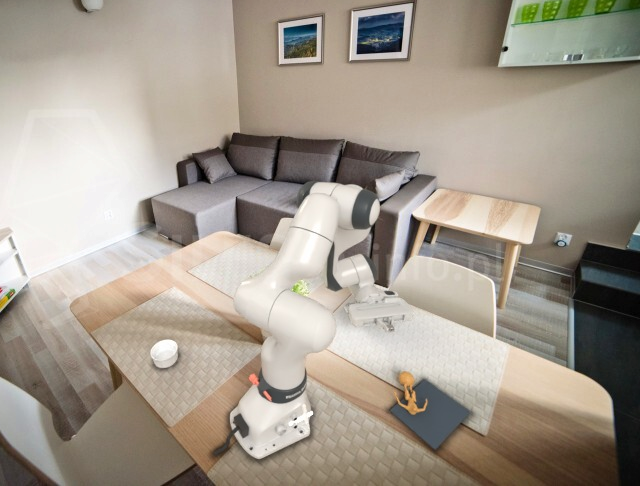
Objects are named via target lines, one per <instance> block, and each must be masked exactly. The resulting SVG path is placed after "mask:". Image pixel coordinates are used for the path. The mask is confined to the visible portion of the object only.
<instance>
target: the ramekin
mask: <svg viewBox="0 0 640 486" xmlns="http://www.w3.org/2000/svg"><path fill="white" fill-rule="evenodd" d="M178 348H179V347H178V343H177V342H176V341H175V340H172V339H162V340H160V341H158V342H156V343H155V344H154V345H152V347H151V349H150V353H149V354H150V357H151V359H152V361H153V363H154V365H155V367H157V368H159V369H166V368H170V367H172V366H173V365H174V364H175V363H176V362H177V361H178V357H179V351H178Z"/></svg>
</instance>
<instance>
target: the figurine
mask: <svg viewBox="0 0 640 486" xmlns="http://www.w3.org/2000/svg"><path fill="white" fill-rule="evenodd" d="M398 381H399V383H400V384H401V385H402V386H403V387H404V397H405V399H406V400H408V406H406V405H403V404H401V403H400V401H401V400H400V398H399V397H398V396H397V392H396V390H395V391H394V392H393V395H394V397H395V399H396V401H397V403H399V405H401V406H402V407H404V408H405V409H407V410H408V411H409V413H410V414H412V415H415V414H416V413H417V412H420V411H425V408H426V406H427V399H426V403H425V405H424V408H423V409H418V408H417V405H416V404H415V403H414V402H416V395H415V391H412V390H413V385H414V384H415V377H414V375H413V374H412V373H410V372H409V371H402V372H400V373H399V374H398ZM407 388H409V390H408V389H407ZM409 391H410V392H411V393H412V394H411V397H412V398H411V397H410V394H409V393H410V392H409Z"/></svg>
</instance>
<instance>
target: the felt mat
mask: <svg viewBox="0 0 640 486" xmlns="http://www.w3.org/2000/svg"><path fill="white" fill-rule="evenodd" d="M412 391H415V395H416V402H414V403H415V404H416V405H417V408H418V409H423V408H424V405H425V403H426V399H427V406H426V408H425V411H420V412H417V413H416V414H415V415H412V414H410V413H409V411H408V410H407V409H405V408H404V407H402V406H401V405H399V403H398V402H397V403H396V404H395V405H394V406H392V408H390V410H389V412H390V413H391V414H392V415H394V417H396V418H397V419H398V420H399V421H400V422H402V424H404V425H405V426H406V427H407V428H408V429H410V430H411V431H412V432H413V433H414V434H415V435H417V436H418V437H419V438H420V439H421V440H422V441H423V442H425V443H426V444H427V445H428V446H429V447H430V448H432V449H433V450H434V451H436V450H437V449H438V448H439V447H440V446H441V445H442V443H443V442H444V441H446V439H447V438H448V437H449V436H450V435H451V434H452V433H453V432H454V431H455V430H456V428H457V427H458V426H459V425H460V424H461V423H462V422H463V421H464V420H465V419H466V418H467V416H469V414H470V413H471V411H470V410H468V409H467V408H465V406H463V405H461V404H460V403H459V402H457V401H456V400H455V399H453V398H452V397H450V396H449V395H447V394H446V393H445V392H443V391H442V390H440V389H439V388H438V387H436V386H435V385H434V384H432V383H431V382H429V381H428V380H426V379H423V380H422V381H421V382H420V383H418V385H416V387H415V388H412ZM409 394H410V397H411V394H412V393H411V391H410V392H409ZM411 398H412V397H411ZM399 401H400V403H401V404H403V405H406V406H408V400H406V399H405V396H404V397H403V398H402V399H401V400H399Z"/></svg>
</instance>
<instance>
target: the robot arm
mask: <svg viewBox="0 0 640 486" xmlns="http://www.w3.org/2000/svg"><path fill="white" fill-rule="evenodd" d="M380 203H381V200H380V198H379V197H378V195H377V194H376V193H375V192H373V191H372V190H369V189H366V188H363V187H362V186H360V185H357V184H354V183H350V184H342V183H338V182H329V181H327V182H326V181H320V180H310V181H307V182H305V183H304V184H303V185H301V187H300V188H299V190H298V192H297V196H296V207H297V210H296V212H295V214H294V216H293V218H292V220H291V223H290V224H289V226H288V227H289V228H288V229H287V232H286V235H285V236H284V240H283V241H282V244H281V245H280V249H279V250H278V252H277V254H276V256H275V257H274V259H273V260H272V261H271V263H270V264H269V265H268V266H267V267H266V268H265V269H264V270H262V271H261V272H260V273H258V274H256V275H254V276H251V277H248V278H246V279H244V280H242V282H241V283H239V285H238V286H237V287H236V289H235V290H234V294H233V300H232V301H233V308H234V311H235V312H236V313H237V314H238V315H239V316H240V317H241V318H242V319H244V320H245V321H246V322H248V323H249V324H250V325H253V326H255V327H256V328H258V329H260V330H263V331H264V332H266V333H269V334H270V335H269V336H268V337H266V339H265V340H264V342H263V343H262V345H261V348H260V363H261V364H260V365H261V366H260V370H259V373H258V375H256V373H252V374H251V373H250V375H249V377H248V380H249V381H250V382H251V383H252V385H251V386H250V388H249V389H248V390H247V391H246V392H245V394H244V395H242V397H241V398H240V399H239V402H238V405H237V406H236V407H235V408H234V409H232V411H231V412H230V414H229V424H230V429H231V431H230V432H229V433H228V435H227V437H226V439H225V443H224V444H223V445H222V446H221V447H219V448H217V449H216V450H214V451H213V452H212V453H213V455H214V456H217V455H219V454H221V453H222V452H225V450H226V449H228V447H229V446H230V444H231V439H232V437H233V436H234V437H235V439H236V440H237V442H238V444H239V446H241V448H242V449H243V450H244V451H245V452H246V453H247V454H248V455H249V456H251V457H252V458H254V459H257V460H260V459H263V458H266V457H267V456H269V455H272V454H274V453H276V452H278V451H280V450H282V449H285V448H286V447H289V446H291V445H292V444H295V443H296V442H298V441H301V440H303V439H305V438H307V437H309V436H310V435H311V427H310V420H311V419H310V418H311V416H312V415H313V414H314V412H313V410H312V405H311V402H310V400H309V397H308V394H307V386H308V373H307V367H306V361H307V356H308V355H310V354H319V353H321V352H323V351H325V350H327V349H328V348H329V347H330V346H331V345H332V343H333V341H334V340H335V337H336V333H337V319H336V317H335V314H334V312H333V311H332V310H331V309H329V308H328V307H327V306H325V305H324V304H322V303H320V302H319V301H317V300H316V299H314V298H311V297H308V296H306V295H303V294H301V293H298V292H296V291H293V288H294V287H295V285H296V284H297V283H299V282H300V281H303V280H309V279H313V278H316V277H318V276H320V275H321V276H320V277H321V281H322V283H323V285H324V286H325V288H326V289H328V290H330V291H333V292H335V293H336V292H339V291H341V290H343V289H345V288H348V291H349V292H350V294H351V295H352V297H354V300H355V302H352V303H345V304H346V305H344V307H343V310H344V312H345V313H346V314H347V316H348V320H349V322H350V324H351V326H352V327H355V328H358V327H367V326H375V325H376V326H377V327H378V328H380V329H382V330H384V333H387V334H388V333H394V332H396V331H397V327H396V325H395V323H401V322H410V321H412V320H413V318H414V313H415V312H414V309H413V308H412V307H411V306H410V304H409V303H408V302H407V301H406V300H405V299H403V298H402V297H400V296H399V293H398V292H397V291H395V290H385V289H381V288H378V287H376V285H375V283H376V280H377V276H378V271H377V267H376V265H375V262H374V261H373V260H372V259H371V258H370V257H369V255H368V256H367V255H366V254H364V253H357V254H354V255H351V256H348V257H346V258H343V259H340V260H339V257H340V255H341V254H343V253H344V252H345V251H347V250H349V249H350V248H353V246H357V244H359V243H361V242H362V241H364V240H365V239H366V238H367V237H368V236H369V234H370V232H371V229H372V227H373V226H374V225H375V223H376V221H377V220H378V218H379V215H380V213H381V212H380V211H381V204H380Z"/></svg>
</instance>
